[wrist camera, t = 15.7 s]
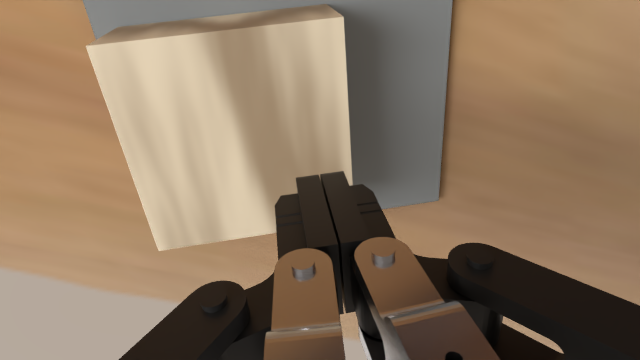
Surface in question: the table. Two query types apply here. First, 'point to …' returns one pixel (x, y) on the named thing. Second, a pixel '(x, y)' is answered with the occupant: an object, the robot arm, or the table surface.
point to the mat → (357, 80)
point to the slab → (226, 115)
